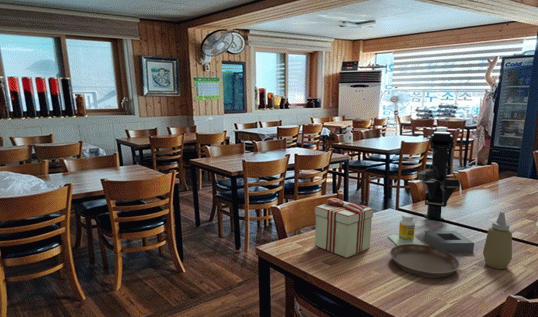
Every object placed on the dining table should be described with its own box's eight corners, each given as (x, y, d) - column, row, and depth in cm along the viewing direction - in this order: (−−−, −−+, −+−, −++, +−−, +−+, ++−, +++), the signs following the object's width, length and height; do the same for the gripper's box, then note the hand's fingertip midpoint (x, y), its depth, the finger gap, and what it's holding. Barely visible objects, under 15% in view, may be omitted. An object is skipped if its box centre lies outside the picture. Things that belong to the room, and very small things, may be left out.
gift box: (376, 244, 134) (378, 199, 132) (350, 260, 121) (352, 210, 118) (336, 233, 146) (338, 191, 143) (309, 246, 132) (310, 200, 130)
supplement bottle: (404, 236, 142) (406, 212, 140) (416, 240, 137) (418, 216, 136) (395, 238, 139) (397, 214, 137) (407, 243, 134) (409, 218, 133)
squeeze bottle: (506, 262, 121) (513, 210, 118) (514, 273, 113) (521, 217, 110) (479, 258, 123) (485, 207, 121) (484, 268, 116) (490, 214, 113)
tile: (387, 236, 142) (387, 235, 142) (412, 236, 143) (412, 234, 143) (398, 246, 133) (398, 245, 132) (424, 246, 133) (424, 244, 133)
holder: (424, 239, 140) (424, 230, 139) (454, 239, 140) (455, 230, 140) (440, 252, 128) (441, 243, 127) (473, 252, 129) (474, 242, 128)
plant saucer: (468, 285, 106) (469, 274, 106) (394, 278, 110) (395, 267, 109) (447, 255, 126) (448, 246, 126) (385, 250, 130) (386, 241, 129)
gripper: (409, 161, 155) (407, 197, 156) (434, 165, 137) (432, 206, 138) (433, 161, 157) (431, 196, 158) (461, 165, 138) (459, 205, 139)
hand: (437, 201), depth 148 cm, fingers open, 9 cm apart
